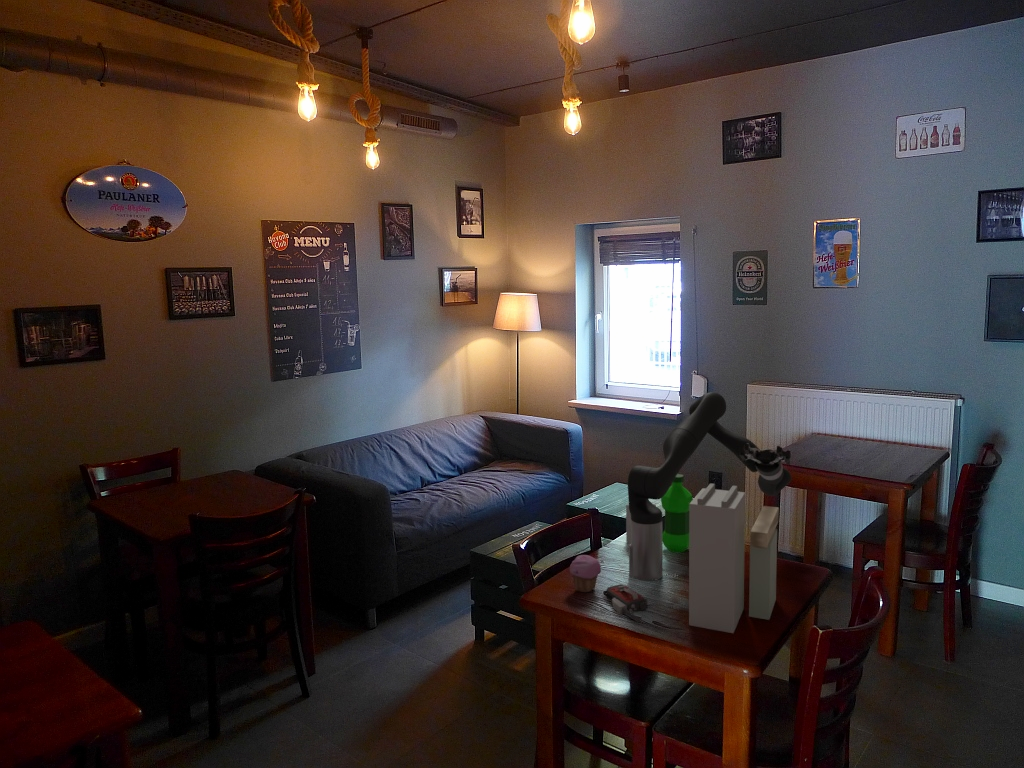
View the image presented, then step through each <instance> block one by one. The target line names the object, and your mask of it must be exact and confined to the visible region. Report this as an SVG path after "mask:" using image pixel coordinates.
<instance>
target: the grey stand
mask: <svg viewBox="0 0 1024 768" xmlns="http://www.w3.org/2000/svg"><path fill="white" fill-rule="evenodd" d="M745 522H746V492H744V491H738V485H732V486H731V487H730V489H729V490H727V489H726V490H725V489H716V484H715V483H709V484H708V486H707V487H705V488H704V487H703V488H701V490H700V491H699V492H698V493H697V494H696V495H695V497H693V500H692V501H691V502H690V504H689V548H688V551H689V552H688V556H689V557H688V565H689V567H688V572H689V573H688V575H689V577H688V626H691V627H697V628H701V629H702V628H703V629H707V630H712V631H718V632H723V633H724V632H725V633H731V634H734V633H735V631H736V628H737V626H738V624H739V620H740V618H741V617H742V614H743V611H744V610H745V609H744V608H745V606H744V605H745V603H744V602H745V599H744V598H745V545H746V544H745V541H746V540H745V537H746V536H745V532H746V531H745V529H746V523H745Z"/></svg>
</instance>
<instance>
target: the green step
mask: <svg viewBox="0 0 1024 768" xmlns="http://www.w3.org/2000/svg"><path fill="white" fill-rule="evenodd" d="M777 543H778V529H777V528H775V531H774V533H773V535H772V538H771V540H770V543H769V545H768V547H767V549H765V548H757V547H750V546H749V586H748V587H749V591H748V593H749V595H748V597H749V598H748V601H749V602H748V605H749V606H748V617H751V618H755V619H762V620H766V621H767V620H768V621H770V619H771V616H772V612H773V610H774V606H775V603H776V600H777V560H778V558H777V557H778V556H777V555H778V554H777V553H778V551H777V550H778V548H777V547H778V544H777Z"/></svg>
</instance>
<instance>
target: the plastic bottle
mask: <svg viewBox="0 0 1024 768" xmlns="http://www.w3.org/2000/svg"><path fill="white" fill-rule="evenodd" d="M684 478H685V477H684V474H681V473H680V474H679V473H678V474H677V475H676V477H675V479H674V481H673V482H672V484H671V486H670V488H669V489H668V491H667V492H666V494H665V495H664V496H663V497H662V498H660V503H661V507H662V508H663V510H664V530H663V531H662V538H663V546H664V547H665V548H666V549H668V550H669V552H671V553H677V554H679V553H684V552H685V551H686V550H689V504H690V502H691V501H692V500H693V499H694V497H693V496H692V493H691V492H690V491H689V489H687V488H686V487H684V486H683V482H684V481H685V479H684Z"/></svg>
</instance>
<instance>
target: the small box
mask: <svg viewBox="0 0 1024 768" xmlns="http://www.w3.org/2000/svg"><path fill="white" fill-rule="evenodd" d="M652 504H653V505H655V506H656V507H657V505H656V504H654V503H652ZM625 508H626V509H625V514H626V519H625V520H626V522H625V525H626V526H625V529H626V535H625V536H626V540H625V541H626V542H627V543H629V544H631V514H630V511H629V503H628V504H626V505H625Z"/></svg>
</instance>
